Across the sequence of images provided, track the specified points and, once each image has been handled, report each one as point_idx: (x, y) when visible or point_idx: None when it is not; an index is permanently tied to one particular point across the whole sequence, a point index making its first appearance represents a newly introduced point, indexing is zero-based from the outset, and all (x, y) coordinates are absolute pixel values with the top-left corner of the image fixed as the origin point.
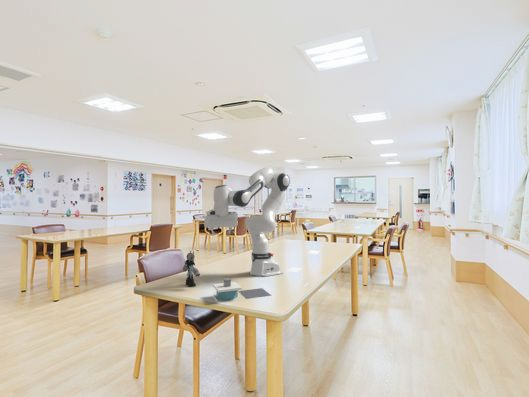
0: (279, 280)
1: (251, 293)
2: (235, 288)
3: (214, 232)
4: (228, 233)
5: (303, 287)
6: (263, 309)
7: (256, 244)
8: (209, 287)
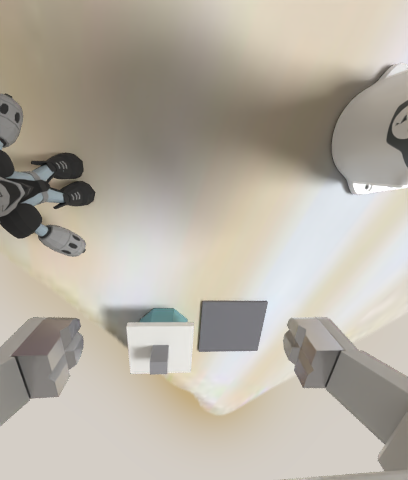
0: (356, 252)
1: (224, 327)
2: (174, 372)
3: (50, 393)
4: (294, 357)
5: (354, 324)
6: (206, 394)
7: None
8: (137, 234)
